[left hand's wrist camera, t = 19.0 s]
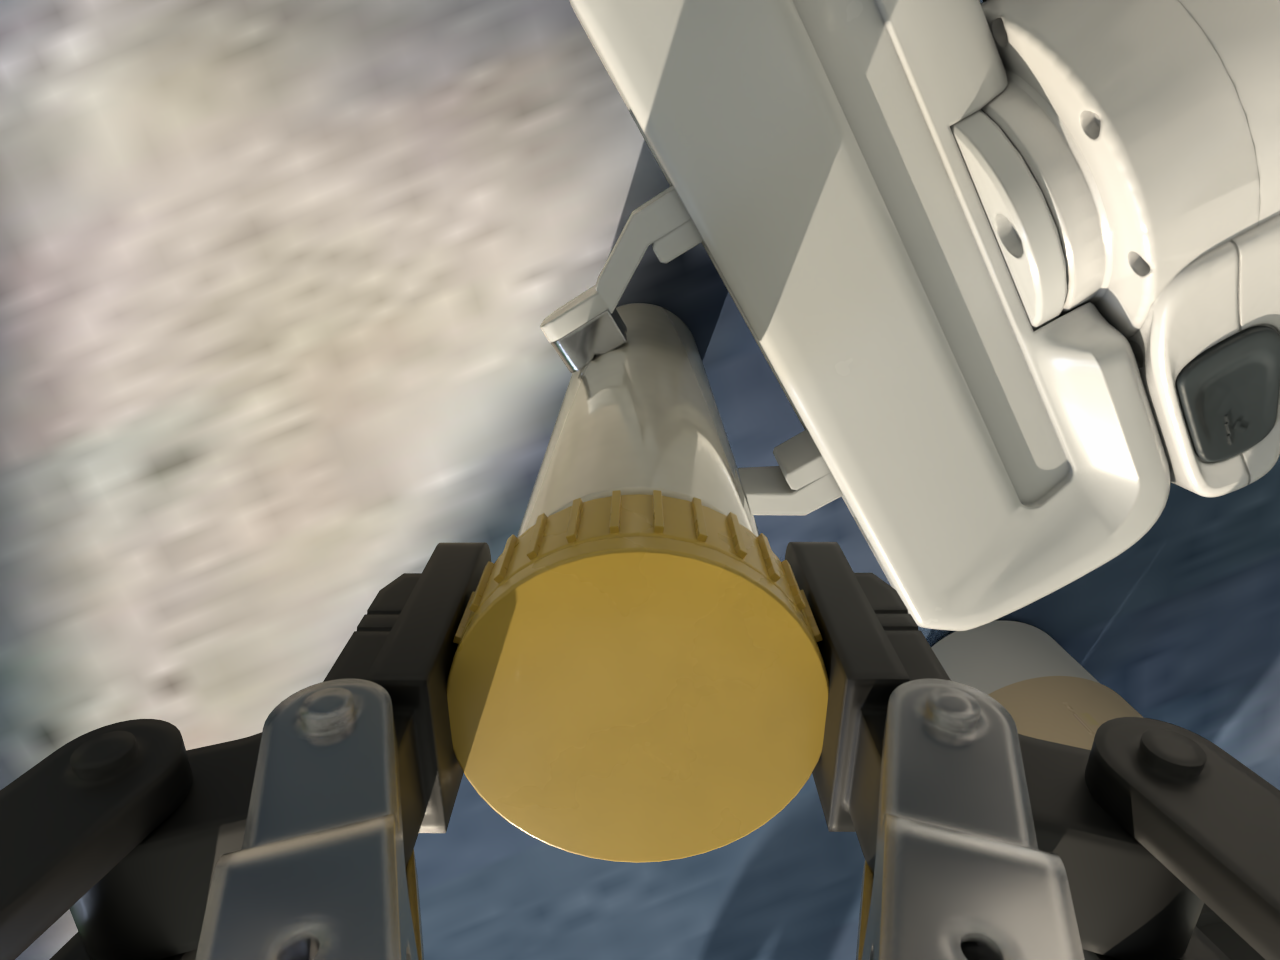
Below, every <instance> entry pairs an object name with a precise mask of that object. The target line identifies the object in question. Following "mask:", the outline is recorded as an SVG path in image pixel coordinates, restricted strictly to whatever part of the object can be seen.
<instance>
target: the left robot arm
mask: <svg viewBox="0 0 1280 960" xmlns="http://www.w3.org/2000/svg"><path fill="white" fill-rule="evenodd" d="M785 560H787V561H788V562H789V564H790V566H791V569H792V571H793V574H794V576H795V579H796V582H797V584H798V587H799V589H800V590H803V591H804V593H805V596H806V598H807V601H808V603H809V606H810V608H811V611H812V614H813V616H814V619H815V621H816V624H817V626H818V629H819V631H820V634H821V637H822V641H819V642H816V643H817V645H818V647H819V650H820V653H821V655H822V658H823V661H824V665H825V668H826V672H827V675H828V679H829V693H828V703H827V712H826V721H825V730H824V739H823V746H822V753H821V755H820V758H819V761H818V763H817V764H816V766H815V768H814V770H813V772H812V773H813V777H814V780H815V784H816V787H817V791H818V794H819V798H820V801H821V805H822V808H823V812H824V815H825V819H826V822H827V826H828V829H829V832H856V833H857V836H858V840H859V843H860V846H861V849H862V852H863V855H864V857H865V862H864V869H863V875H862V888H861V901H860V913H859V926H858V939H857V952H856V960H1230V959H1229V958H1228V957H1227V956H1226V955H1225V954H1224V953H1223V952H1222V951H1221V950H1220V949H1219V948H1218V947H1217V946H1216V945H1215V944H1214V943H1213V942H1212V941H1211V940H1210V939H1209V938H1208V937H1207V936H1206V935H1205V934H1203V933H1202V932H1201V931H1200V930H1199V929H1198V928H1197V927H1196V923H1197V921H1198V918H1199V916H1200V913H1201V910H1202V908H1203V905H1204V903H1205V904H1206V905H1207V906H1208V907H1209V908H1210V909H1212V910H1213V911H1214V912H1215V913H1216V914H1217V915H1218V916H1219V917H1220V918H1221V919H1222V920H1223V921H1224V922H1225V923H1227V924H1228V925H1229V926H1230V927H1231V928H1232V929H1233V930H1234V931H1235V932H1236V933H1237V934H1238V935H1239V936H1241V937H1242V938H1243V939H1244V940H1245V941H1246V942H1247V943H1248V944H1249V945H1250V946H1251V947H1252V948H1253V949H1255V950H1256V951H1257V952H1258V953H1259V954H1260V955H1261V956H1262V957H1263V958H1264V959H1265V960H1280V791H1279V790H1278V789H1277V788H1275V787H1274V786H1272V785H1271V784H1270V783H1268V782H1267V781H1265V780H1264V779H1263V778H1261V777H1260V776H1258V775H1257V774H1256V773H1254V772H1253V771H1252V770H1250V769H1249V768H1247V767H1246V766H1245V765H1243V764H1242V763H1240V762H1239V761H1238V760H1236V759H1235V758H1233V757H1232V756H1231V755H1229V754H1228V753H1226V752H1225V751H1224V750H1222V749H1221V748H1219V747H1218V746H1216V745H1215V744H1213V743H1212V742H1210V741H1209V740H1207V739H1205V738H1203V737H1201V736H1199V735H1198V734H1195V733H1193V732H1191V731H1189V730H1187V729H1184V728H1181V727H1179V726H1176V725H1173V724H1170V723H1167V722H1163V721H1159V720H1154V719H1149V718H1142V717H1121V718H1115V719H1111V720H1108V721H1106V722H1105V723H1103V724H1102V725H1101V726H1100V727H1099V728H1098V729H1097V731H1096V734H1095V737H1094V741H1093V744H1092V748H1091V750H1087V749H1083V748H1078V747H1073V746H1069V745H1064V744H1059V743H1055V742H1050V741H1045V740H1041V739H1036V738H1032V737H1028V736H1025V735H1021V734H1019V733H1018V732H1017V727H1016V724H1015V721H1014V720H1013V718H1012V716H1011V714H1010V713H1009V712H1008V711H1007V710H1006V709H1005V708H1004V707H1003V706H1002V705H1001V704H1000V703H999V702H998V701H996V700H995V699H993V698H992V697H990V696H989V695H987V694H985V693H984V692H982V691H980V690H978V689H975V688H973V687H971V686H968V685H965V684H962V683H958V682H954V681H951V679H950V678H949V676H948V675H947V673H946V671H945V670H944V668H943V666H942V665H941V663H940V661H939V660H938V658H937V657H936V655H935V653H934V652H933V650H932V648H931V647H930V645H929V643H928V642H927V640H926V639H925V637H924V635H923V634H922V632H921V631H918V625H917V624H916V622H915V621H914V619H913V617H912V616H911V614H908V609H907V607H906V606H905V604H904V603H903V601H902V599H901V598H900V596H899V594H898V593H897V591H896V590H895V589H894V588H892V587H891V586H890V585H888V584H887V583H885V582H884V581H883V580H881V579H880V578H878V577H877V576H876V575H874V574H873V573H854V572H853V571H852V569H851V567H850V565H849V563H848V561H847V559H846V557H845V555H844V554H843V552H842V550H841V548H840V546H839V545H838V543H837V542H789V544H788V546H787V549H786V555H785ZM489 561H490V562H491V555H490V549H489V546H488V544H487V543H439V544H438V545H437V546H436V548H435V550H434V552H433V554H432V556H431V557H430V559H429V561H428V563H427V565H426V567H425V569H424V570H423V572H422V573H413V574H402V575H401V576H400V577H398V578H397V579H395V580H394V581H393V582H391V583H390V584H388V585H387V586H386V587H384V588H383V589H381V590H380V591H379V593H378V594H377V596H376V598H375V599H374V601H373V602H372V604H371V606H370V607H369V609H368V610H367V615H364V617H363V618H362V620H361V622H360V623H359V625H358V627H357V631H354V633H353V635H352V636H351V638H350V639H349V641H348V643H347V644H346V646H345V648H344V649H343V651H342V652H341V654H340V656H339V657H338V659H337V660H336V662H335V664H334V665H333V667H332V668H331V670H330V672H329V673H328V675H327V677H326V678H325V680H324V681H323V682H322V683H318V684H315V685H312V686H309V687H307V688H305V689H302V690H300V691H298V692H296V693H295V694H293V695H291V696H290V697H288V698H287V699H285V700H284V701H282V702H281V703H280V704H279V705H278V706H277V707H276V708H275V709H274V710H273V711H272V712H271V713H270V714H269V716H268V718H267V720H266V721H265V724H264V727H263V732H262V733H259V734H256V735H253V736H250V737H246V738H242V739H238V740H234V741H229V742H225V743H220V744H215V745H211V746H206V747H201V748H197V749H192V750H187V751H186V749H185V746H184V742H183V739H182V736H181V733H180V731H179V730H178V729H177V728H176V727H175V726H174V725H172V724H170V723H168V722H165V721H162V720H155V719H137V720H129V721H124V722H119V723H115V724H111V725H108V726H104V727H102V728H99V729H96V730H93V731H91V732H89V733H86V734H84V735H82V736H80V737H78V738H76V739H74V740H72V741H71V742H69V743H67V744H65V745H64V746H62V747H61V748H59V749H58V750H56V751H55V752H54V753H52V754H51V755H49V756H48V757H47V758H45V759H44V760H42V761H41V762H40V763H38V764H37V765H35V766H34V767H33V768H31V769H30V770H28V771H27V772H26V773H24V774H23V775H22V776H20V777H19V778H17V779H16V780H15V781H13V782H12V783H10V784H9V785H8V786H6V787H5V788H3V789H2V790H1V791H0V960H15V959H16V958H17V957H18V956H19V955H20V954H21V953H22V952H23V951H24V950H25V949H27V948H28V947H29V946H30V945H31V944H32V943H33V942H34V941H35V940H36V939H37V938H38V937H39V936H40V935H42V934H43V933H44V932H45V931H46V930H47V929H48V928H49V927H50V926H51V925H52V924H53V923H54V922H56V921H57V920H58V919H59V918H60V917H61V916H62V915H63V914H64V913H65V912H66V911H67V910H68V909H70V911H71V913H72V916H73V919H74V921H75V924H76V926H77V929H78V931H79V932H78V933H76V934H75V935H74V936H73V937H72V938H71V939H70V940H69V941H68V942H67V943H66V944H65V945H64V946H63V947H62V948H61V949H60V950H59V951H58V952H57V953H56V954H55V955H54V956H53V957H52V958H51V959H50V960H424V951H423V939H422V926H421V913H420V900H419V888H418V875H417V868H416V862H415V855H414V845H415V842H416V839H417V836H418V833H446V830H447V827H448V824H449V820H450V817H451V813H452V810H453V806H454V803H455V800H456V796H457V793H458V789H459V786H460V783H461V779H462V776H463V770H462V768H461V766H460V764H459V762H458V760H457V758H456V756H455V753H454V750H453V743H452V736H451V727H450V718H449V710H448V701H447V679H448V675H449V671H450V668H451V665H452V661H453V658H454V655H455V653H456V650H457V647H458V645H459V644H457V643H454V642H453V640H454V637H455V634H456V632H457V629H458V627H459V624H460V622H461V619H462V617H463V614H464V612H465V609H466V607H467V604H468V602H469V599H470V596H471V594H472V592H473V591H474V592H475V591H476V589H477V586H478V584H479V581H480V578H481V576H482V573H483V571H484V568H485V566H486V564H487V563H488V562H489Z"/></svg>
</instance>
